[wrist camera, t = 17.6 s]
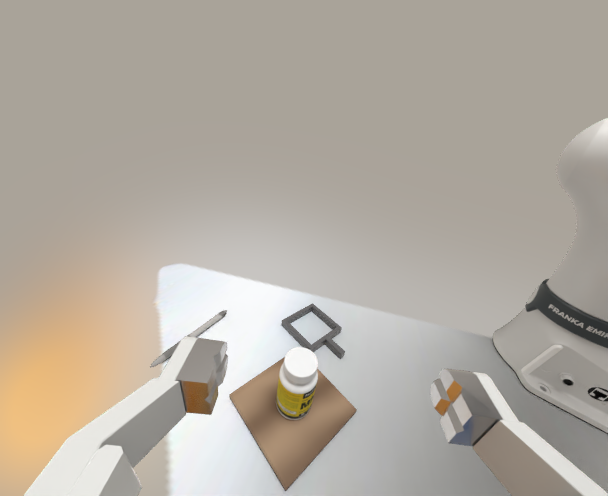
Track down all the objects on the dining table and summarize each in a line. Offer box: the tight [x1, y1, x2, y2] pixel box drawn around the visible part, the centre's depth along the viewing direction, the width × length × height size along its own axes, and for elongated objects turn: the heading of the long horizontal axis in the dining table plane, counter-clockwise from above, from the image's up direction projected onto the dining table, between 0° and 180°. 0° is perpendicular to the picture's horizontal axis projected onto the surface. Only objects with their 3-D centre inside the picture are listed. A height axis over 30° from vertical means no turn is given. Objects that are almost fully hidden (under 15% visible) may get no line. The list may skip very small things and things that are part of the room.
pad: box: [230, 357, 356, 491], centre depth 32 cm, size 12×12×1 cm
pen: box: [150, 310, 227, 367], centre depth 39 cm, size 1×14×1 cm, turn 148°
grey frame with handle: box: [282, 303, 345, 359], centre depth 43 cm, size 11×8×1 cm
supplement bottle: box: [276, 347, 318, 420], centre depth 30 cm, size 5×5×8 cm
